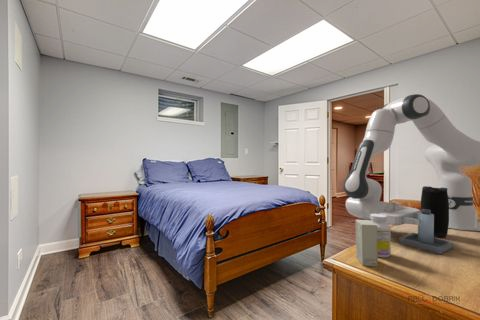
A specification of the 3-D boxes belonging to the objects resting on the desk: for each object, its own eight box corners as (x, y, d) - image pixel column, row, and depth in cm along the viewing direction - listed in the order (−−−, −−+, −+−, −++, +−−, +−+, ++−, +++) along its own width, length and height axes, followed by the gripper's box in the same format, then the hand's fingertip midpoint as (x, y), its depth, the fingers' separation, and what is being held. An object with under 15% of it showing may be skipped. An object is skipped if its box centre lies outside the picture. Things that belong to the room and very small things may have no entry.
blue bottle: (420, 240, 84) (420, 207, 84) (435, 244, 80) (435, 210, 80) (415, 243, 81) (416, 209, 81) (431, 247, 78) (431, 211, 78)
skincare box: (378, 267, 65) (378, 225, 65) (361, 265, 66) (361, 224, 66) (370, 257, 71) (370, 219, 71) (355, 256, 72) (355, 218, 72)
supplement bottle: (370, 248, 78) (370, 211, 78) (393, 254, 74) (393, 215, 73) (363, 253, 74) (364, 215, 74) (387, 260, 69) (387, 219, 69)
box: (413, 237, 89) (413, 232, 89) (453, 248, 78) (453, 242, 78) (399, 243, 83) (399, 237, 83) (440, 255, 73) (440, 248, 73)
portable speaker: (450, 235, 91) (451, 187, 91) (444, 240, 86) (445, 189, 86) (424, 229, 98) (425, 185, 98) (417, 234, 93) (417, 187, 93)
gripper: (370, 207, 87) (412, 215, 75) (396, 202, 98) (436, 208, 86) (370, 224, 87) (412, 234, 75) (396, 216, 98) (436, 225, 86)
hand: (425, 220), depth 81 cm, fingers open, 8 cm apart
